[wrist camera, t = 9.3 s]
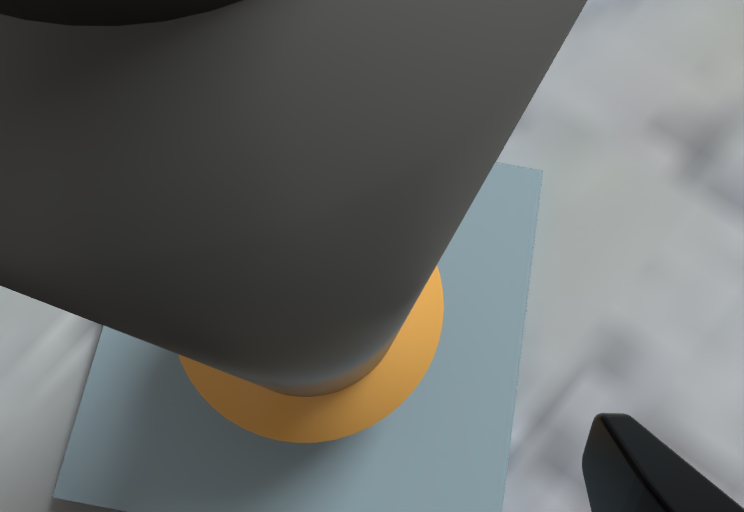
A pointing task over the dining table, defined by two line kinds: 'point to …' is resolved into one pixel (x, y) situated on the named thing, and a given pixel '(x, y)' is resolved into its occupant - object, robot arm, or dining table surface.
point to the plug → (260, 181)
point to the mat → (344, 455)
